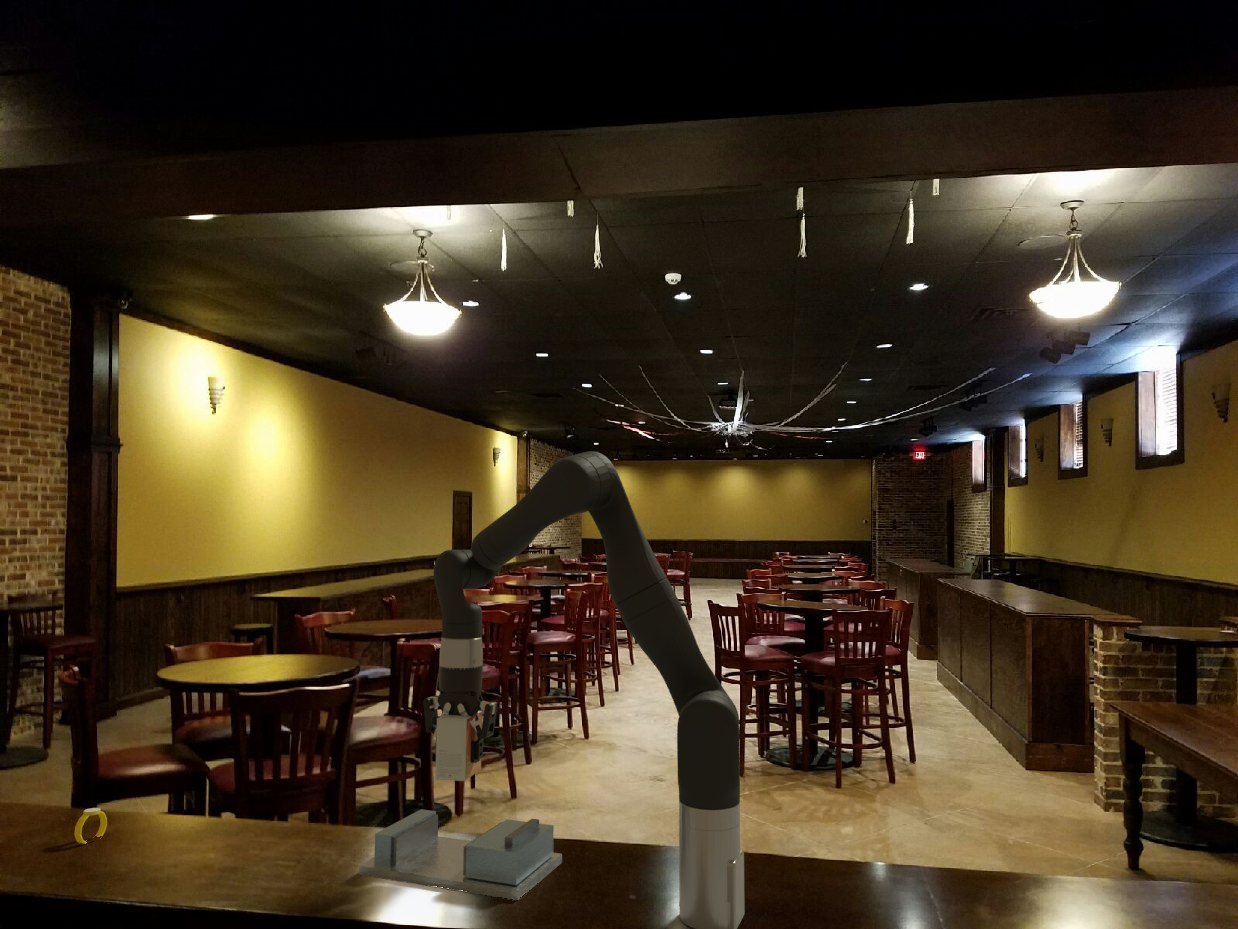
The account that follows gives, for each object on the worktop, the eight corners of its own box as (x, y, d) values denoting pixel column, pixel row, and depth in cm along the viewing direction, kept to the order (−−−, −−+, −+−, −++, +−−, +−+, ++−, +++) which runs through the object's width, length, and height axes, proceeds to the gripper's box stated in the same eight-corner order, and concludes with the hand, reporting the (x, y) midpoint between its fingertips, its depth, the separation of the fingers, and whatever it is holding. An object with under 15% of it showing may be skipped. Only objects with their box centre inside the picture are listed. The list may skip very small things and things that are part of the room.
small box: (465, 782, 149) (466, 719, 150) (434, 780, 150) (436, 717, 151) (482, 770, 157) (483, 710, 158) (452, 768, 158) (454, 708, 159)
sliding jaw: (553, 855, 153) (553, 817, 153) (516, 885, 140) (516, 843, 140) (502, 847, 156) (502, 810, 157) (461, 876, 143) (462, 836, 144)
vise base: (562, 862, 154) (562, 824, 154) (517, 901, 138) (517, 858, 138) (415, 841, 164) (416, 805, 165) (358, 874, 148) (359, 835, 149)
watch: (97, 838, 167) (100, 805, 168) (108, 839, 166) (112, 806, 167) (69, 846, 161) (73, 812, 162) (81, 848, 161) (85, 814, 162)
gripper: (507, 662, 156) (505, 759, 155) (437, 657, 161) (435, 751, 160) (486, 668, 149) (484, 770, 148) (414, 663, 154) (411, 761, 153)
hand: (458, 759), depth 154 cm, fingers closed on small box, 6 cm apart
